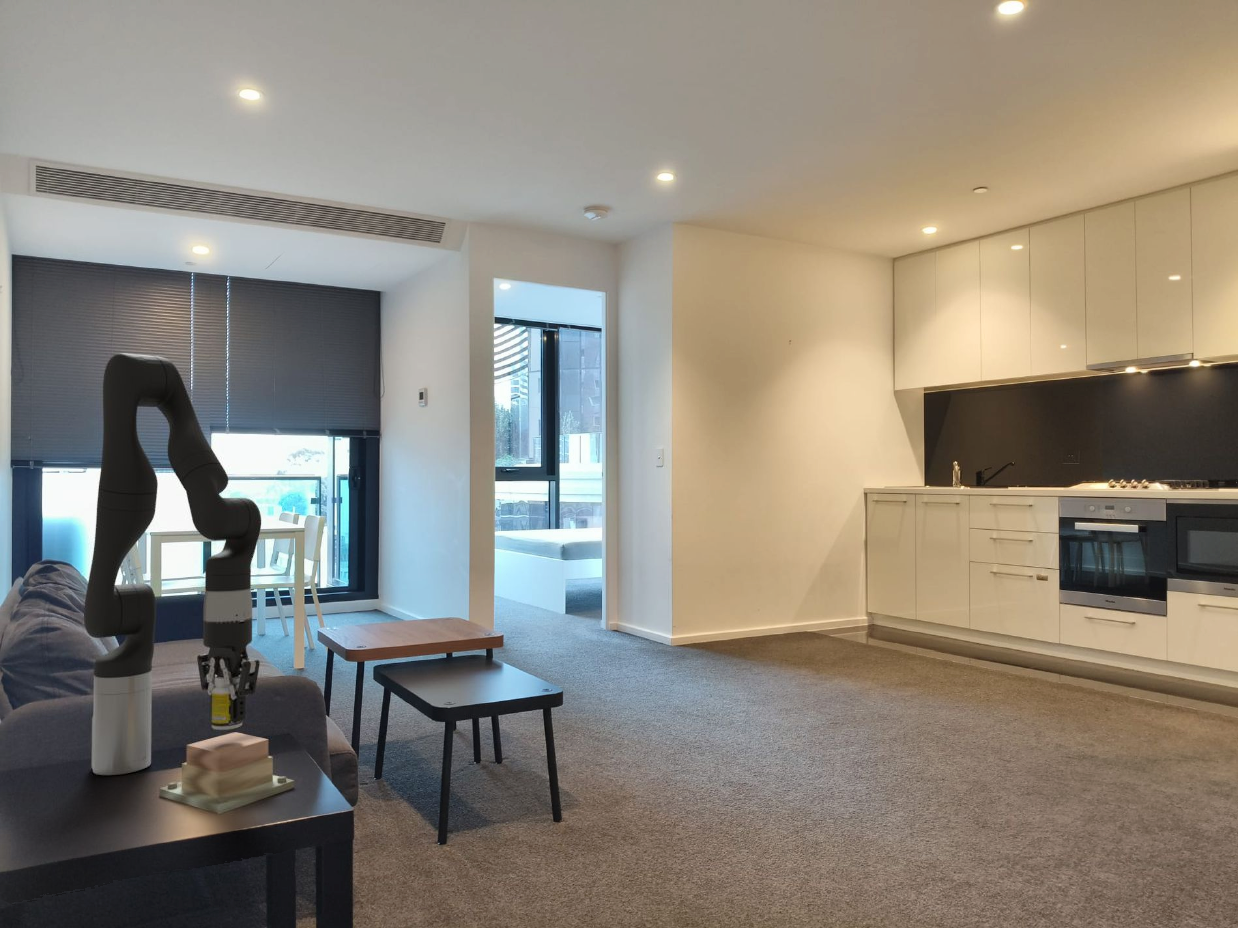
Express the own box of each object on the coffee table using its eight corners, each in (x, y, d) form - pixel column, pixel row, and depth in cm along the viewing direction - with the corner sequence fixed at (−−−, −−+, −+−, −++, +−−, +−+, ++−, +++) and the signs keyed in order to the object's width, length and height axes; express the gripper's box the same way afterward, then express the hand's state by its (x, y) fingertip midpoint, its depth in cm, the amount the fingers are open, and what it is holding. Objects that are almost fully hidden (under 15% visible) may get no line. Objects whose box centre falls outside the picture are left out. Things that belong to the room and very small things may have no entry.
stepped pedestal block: (159, 795, 145) (159, 745, 145) (235, 771, 157) (235, 725, 157) (218, 813, 137) (219, 760, 137) (294, 787, 149) (294, 738, 149)
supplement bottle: (230, 730, 144) (231, 679, 144) (205, 729, 145) (205, 678, 145) (248, 723, 149) (248, 673, 149) (224, 722, 150) (224, 672, 150)
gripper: (181, 616, 148) (181, 718, 148) (234, 622, 141) (234, 729, 140) (222, 611, 155) (221, 708, 154) (274, 616, 147) (274, 719, 147)
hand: (227, 718), depth 147 cm, fingers closed on supplement bottle, 4 cm apart
